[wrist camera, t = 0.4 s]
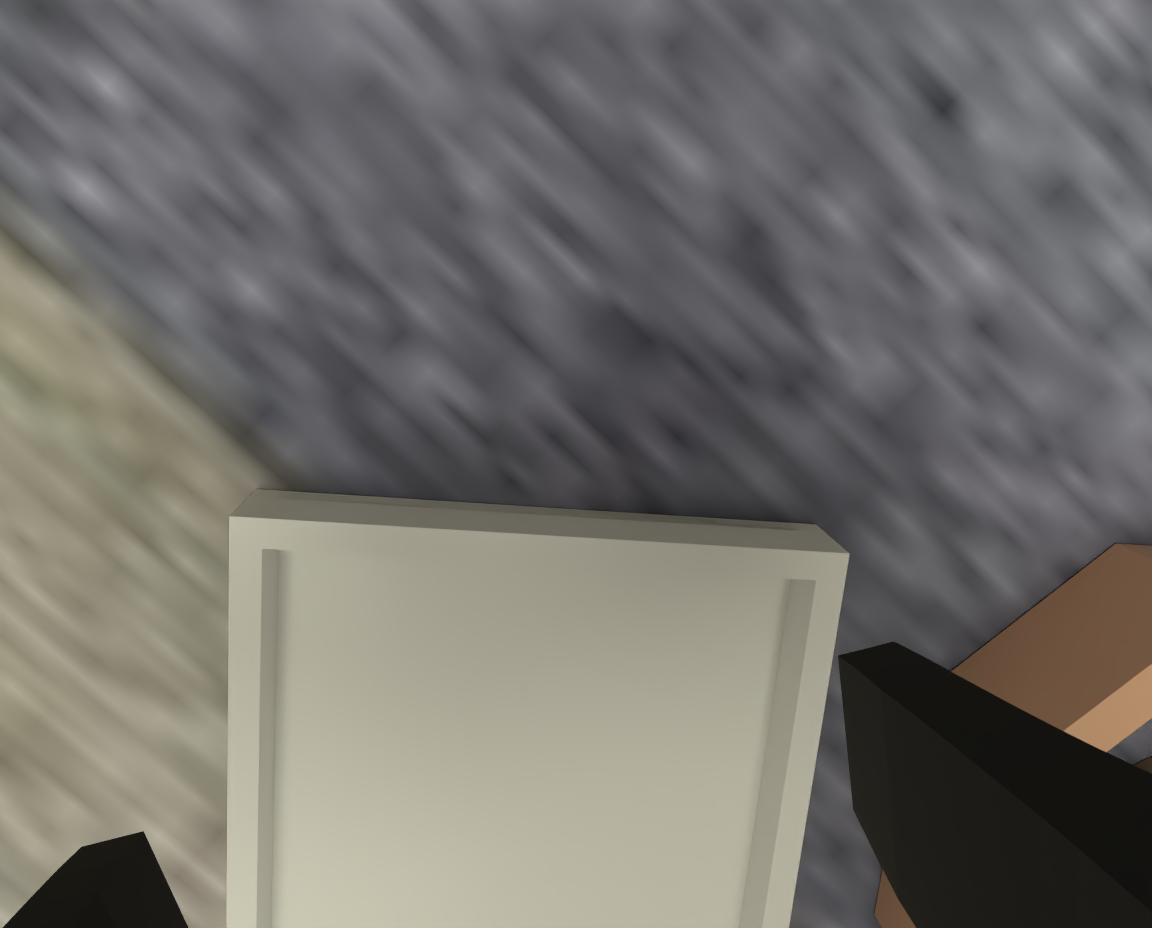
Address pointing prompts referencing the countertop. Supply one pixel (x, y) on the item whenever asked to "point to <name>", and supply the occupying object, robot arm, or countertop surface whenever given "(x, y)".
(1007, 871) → the robot arm
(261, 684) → the cream tray
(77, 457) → the countertop surface
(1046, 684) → the octagonal open frame
